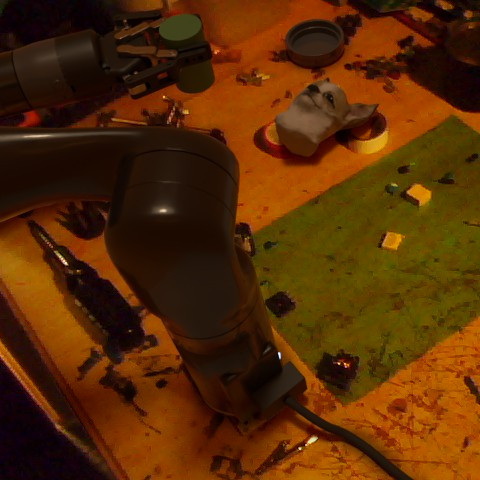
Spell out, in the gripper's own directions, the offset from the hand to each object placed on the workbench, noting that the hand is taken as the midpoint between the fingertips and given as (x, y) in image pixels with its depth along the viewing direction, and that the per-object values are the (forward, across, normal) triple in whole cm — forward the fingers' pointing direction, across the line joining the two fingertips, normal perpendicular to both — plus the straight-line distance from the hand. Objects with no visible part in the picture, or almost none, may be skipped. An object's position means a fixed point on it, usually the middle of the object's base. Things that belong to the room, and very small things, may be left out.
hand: (205, 35), depth 80 cm
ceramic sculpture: (+12, +3, -18) cm, 22 cm away
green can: (-3, 0, -6) cm, 7 cm away
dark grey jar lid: (+17, -15, -18) cm, 29 cm away
